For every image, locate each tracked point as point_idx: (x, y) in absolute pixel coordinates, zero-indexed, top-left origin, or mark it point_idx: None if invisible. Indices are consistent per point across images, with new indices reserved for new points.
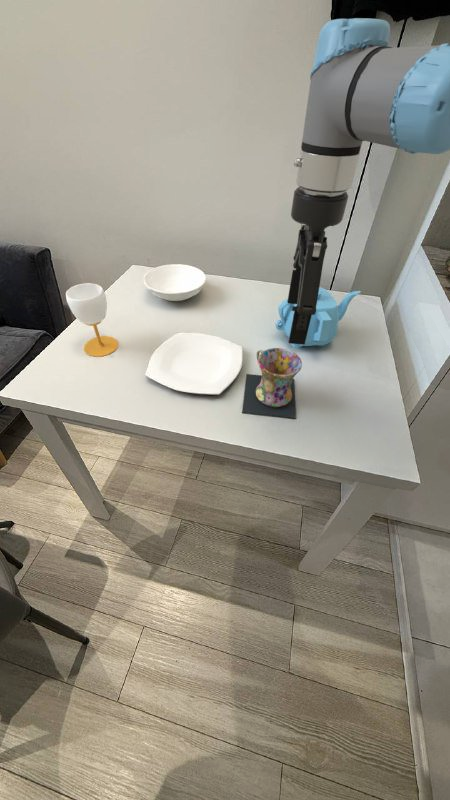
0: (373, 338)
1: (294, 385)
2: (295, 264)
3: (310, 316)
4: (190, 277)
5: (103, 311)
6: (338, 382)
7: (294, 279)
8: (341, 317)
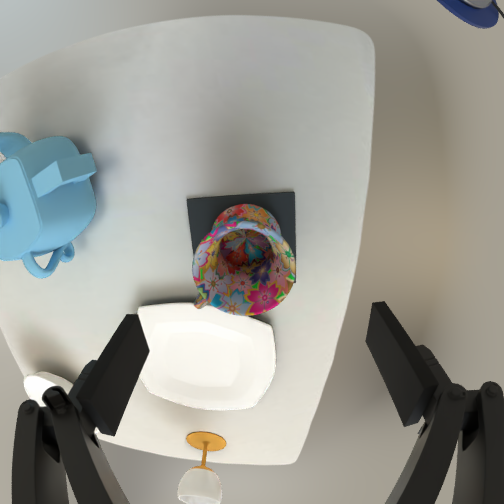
0: (44, 69)
1: (206, 198)
2: (105, 457)
3: (427, 369)
4: (36, 383)
5: (202, 478)
6: (173, 111)
7: (119, 407)
8: (22, 136)
